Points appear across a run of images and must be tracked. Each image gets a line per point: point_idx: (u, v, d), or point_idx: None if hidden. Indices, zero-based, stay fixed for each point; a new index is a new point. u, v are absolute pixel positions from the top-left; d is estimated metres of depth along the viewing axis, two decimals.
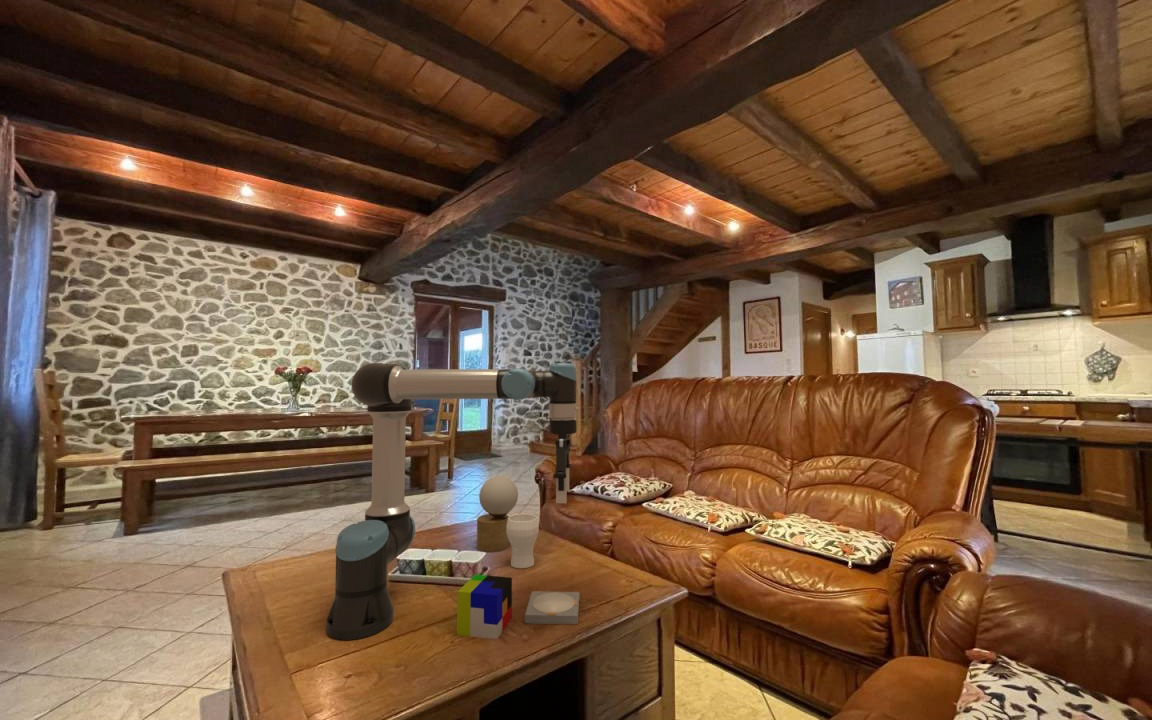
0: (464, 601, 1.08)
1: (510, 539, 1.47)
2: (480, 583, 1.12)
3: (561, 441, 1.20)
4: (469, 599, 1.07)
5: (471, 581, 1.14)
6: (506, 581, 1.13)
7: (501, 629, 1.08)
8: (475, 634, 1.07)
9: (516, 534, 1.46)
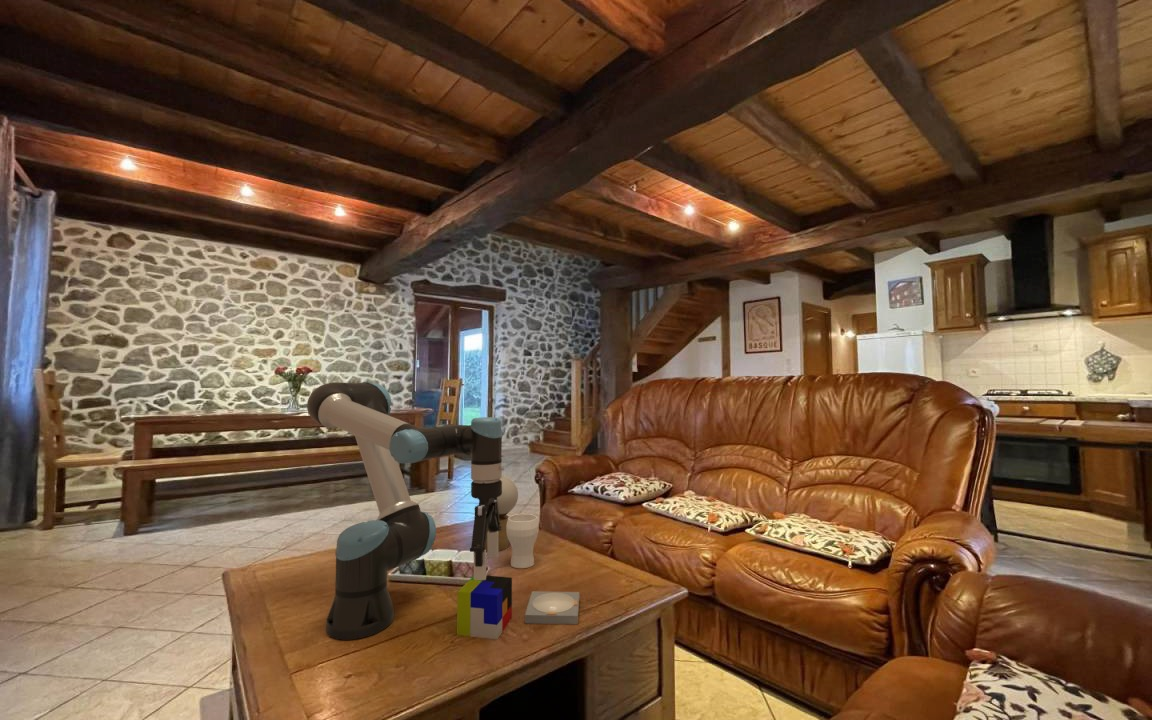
0: (464, 601, 1.08)
1: (510, 539, 1.47)
2: (480, 583, 1.12)
3: (480, 509, 1.06)
4: (469, 599, 1.07)
5: (471, 581, 1.14)
6: (506, 581, 1.13)
7: (501, 629, 1.08)
8: (475, 634, 1.07)
9: (516, 534, 1.46)
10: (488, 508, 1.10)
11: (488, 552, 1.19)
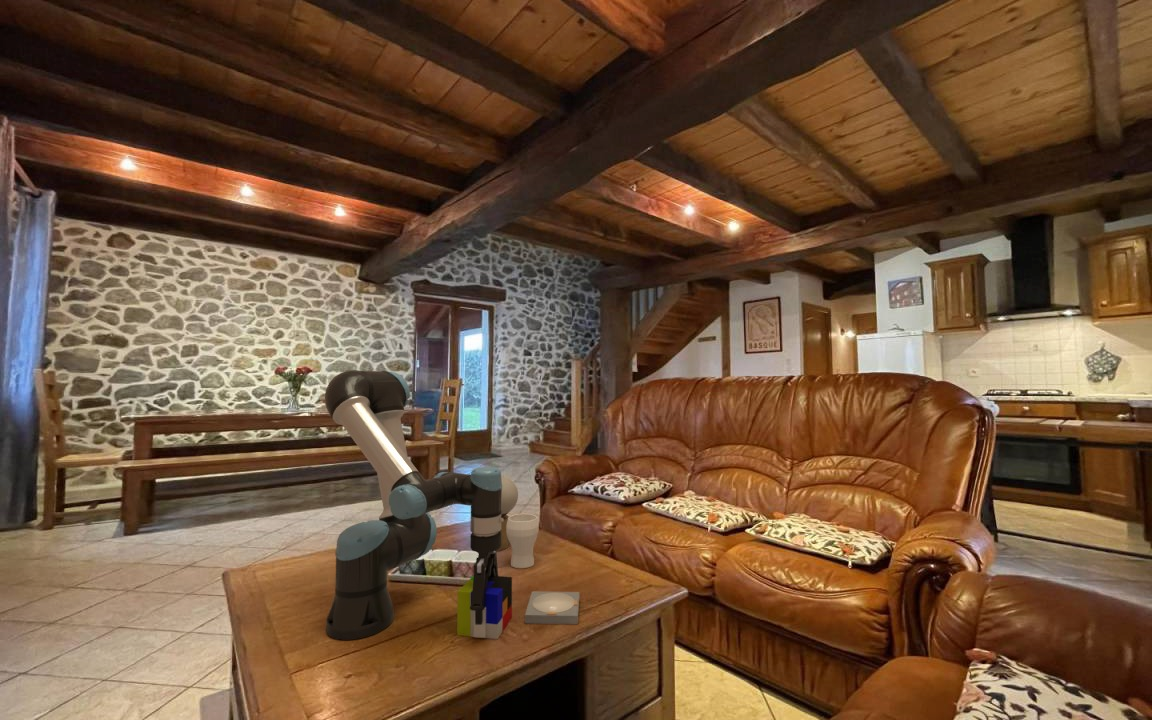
0: (464, 601, 1.07)
1: (510, 539, 1.47)
2: None
3: (479, 567, 1.05)
4: (469, 599, 1.07)
5: (471, 581, 1.14)
6: (506, 581, 1.13)
7: (501, 629, 1.08)
8: None
9: (516, 534, 1.46)
10: (487, 561, 1.09)
11: None
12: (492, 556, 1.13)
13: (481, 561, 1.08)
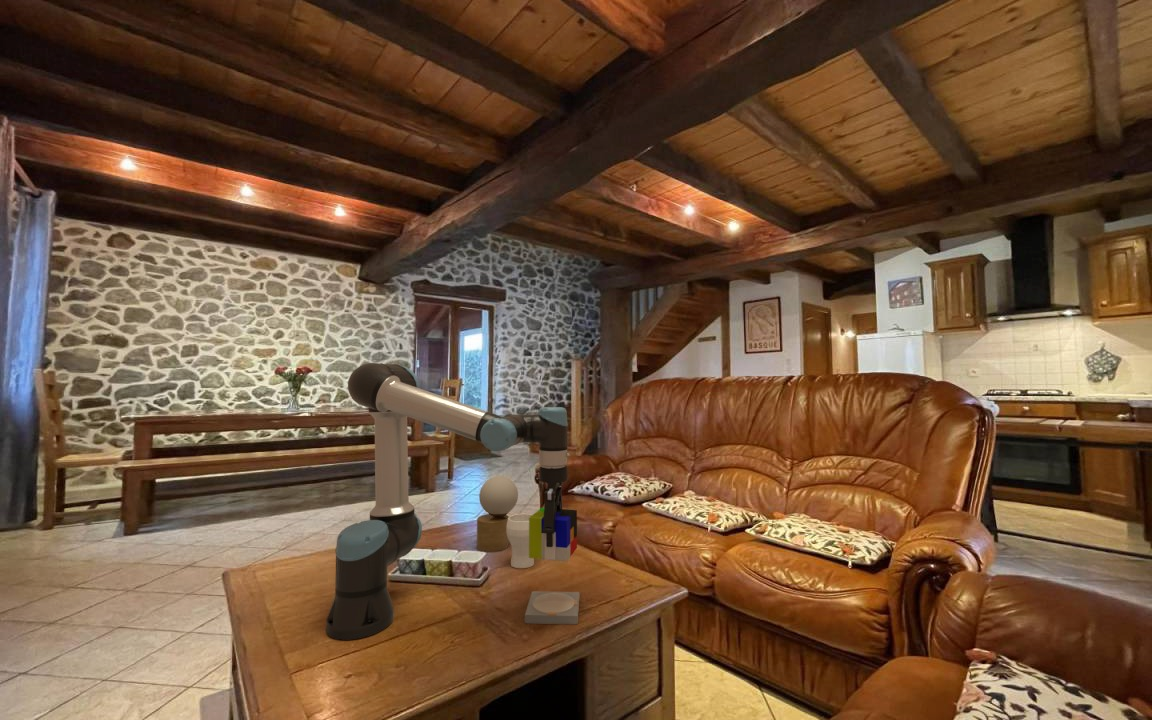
0: (535, 526, 1.16)
1: (510, 539, 1.47)
2: None
3: (549, 494, 1.14)
4: (540, 524, 1.16)
5: (539, 511, 1.22)
6: (572, 512, 1.21)
7: (569, 553, 1.16)
8: None
9: (516, 534, 1.46)
10: (556, 491, 1.18)
11: None
12: (559, 489, 1.21)
13: (550, 490, 1.16)
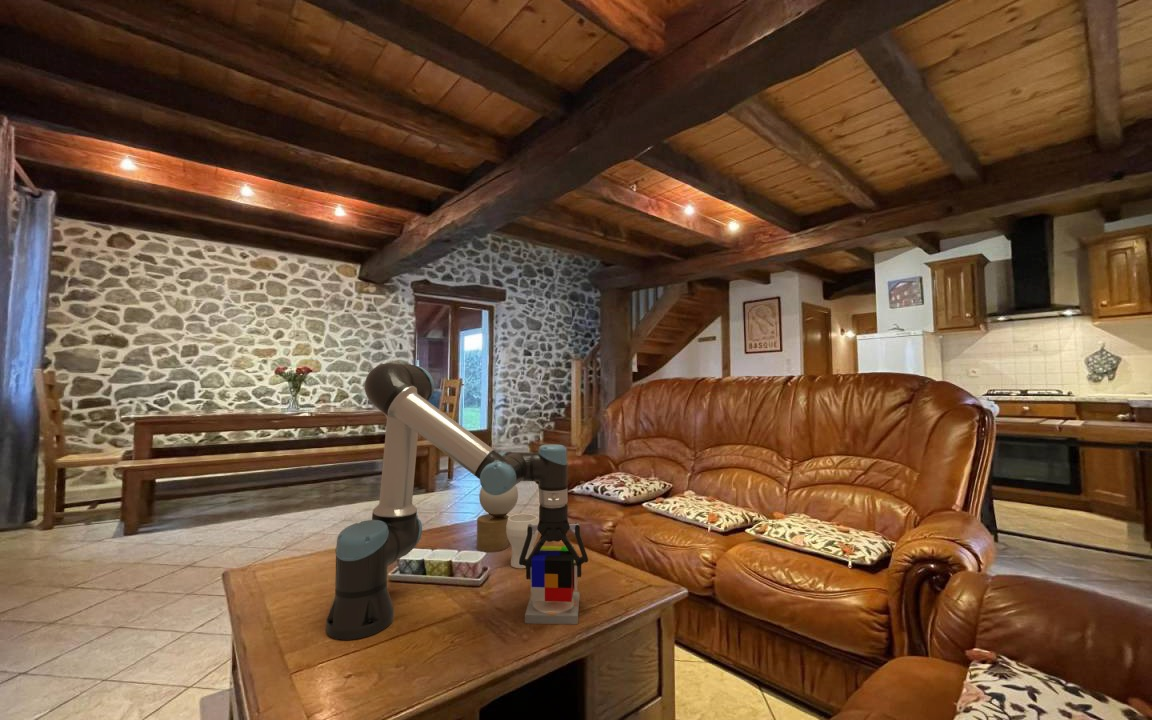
0: None
1: (510, 539, 1.47)
2: (554, 551, 1.21)
3: (527, 528, 1.19)
4: None
5: (558, 547, 1.24)
6: (561, 559, 1.15)
7: (542, 597, 1.14)
8: None
9: (516, 534, 1.46)
10: (543, 529, 1.19)
11: None
12: (556, 530, 1.19)
13: (535, 525, 1.19)
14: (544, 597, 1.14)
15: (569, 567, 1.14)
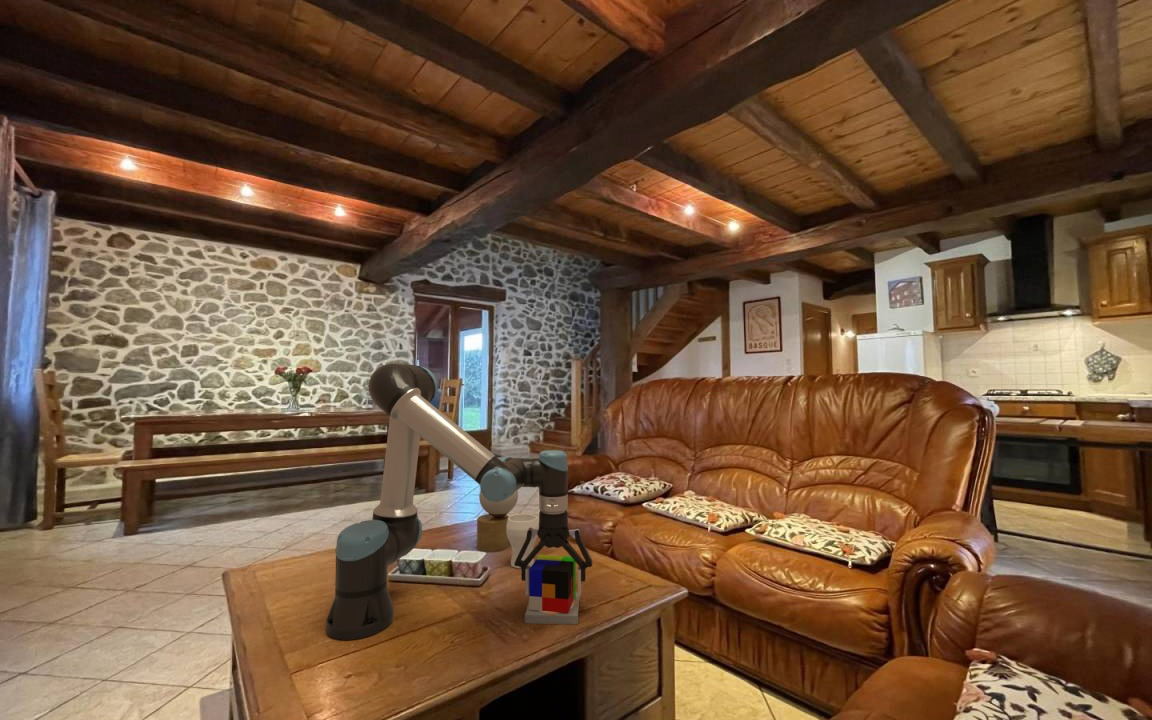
0: None
1: (510, 539, 1.47)
2: (555, 561, 1.21)
3: None
4: None
5: (560, 557, 1.23)
6: (558, 570, 1.15)
7: (540, 607, 1.14)
8: None
9: (516, 534, 1.46)
10: (542, 535, 1.19)
11: None
12: (555, 536, 1.18)
13: (535, 530, 1.20)
14: (541, 607, 1.14)
15: (566, 578, 1.14)
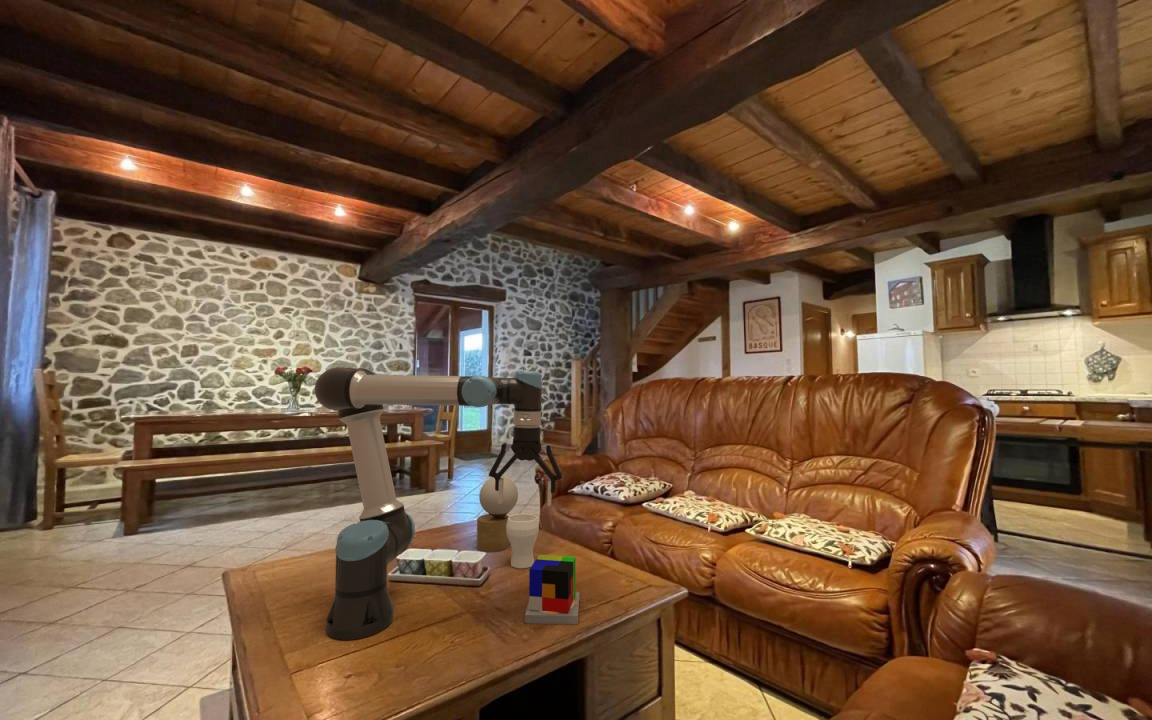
0: None
1: (510, 539, 1.47)
2: (555, 561, 1.21)
3: (502, 444, 1.27)
4: None
5: (560, 557, 1.23)
6: (558, 570, 1.15)
7: (540, 607, 1.14)
8: None
9: (516, 534, 1.46)
10: (515, 449, 1.26)
11: None
12: (528, 450, 1.25)
13: (509, 444, 1.27)
14: (541, 607, 1.14)
15: (566, 578, 1.14)
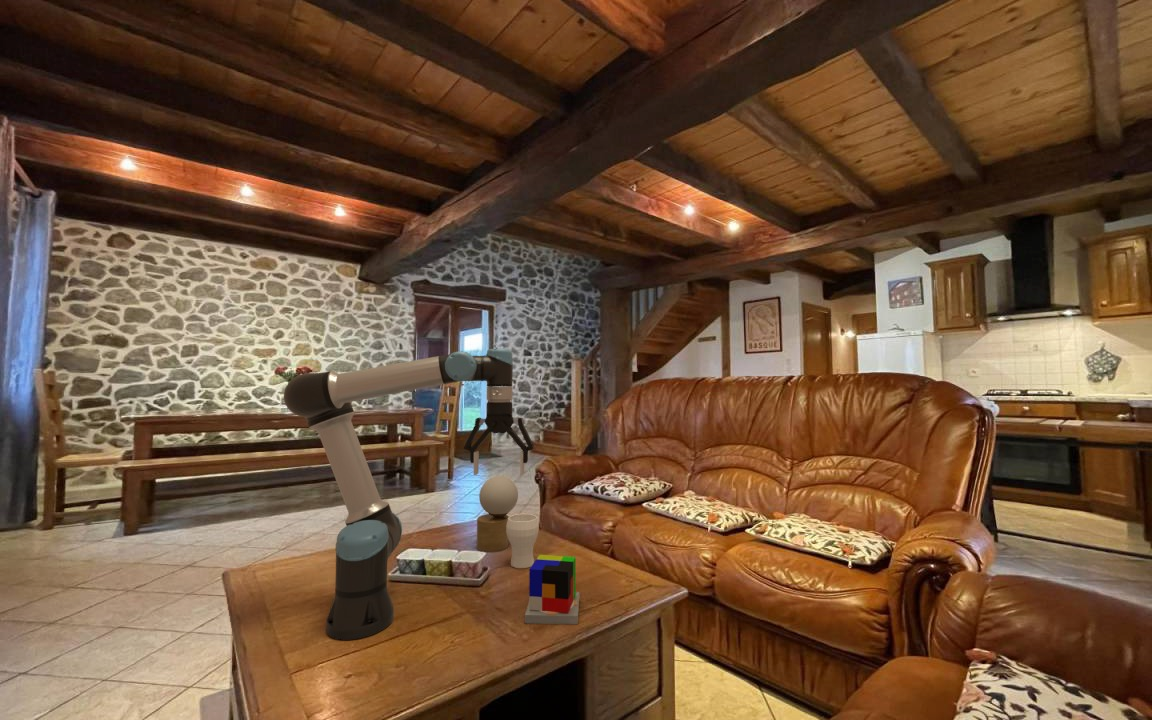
0: None
1: (510, 539, 1.47)
2: (555, 561, 1.21)
3: None
4: None
5: (560, 557, 1.23)
6: (558, 570, 1.15)
7: (540, 607, 1.14)
8: None
9: (516, 534, 1.46)
10: (489, 422, 1.33)
11: None
12: (500, 423, 1.33)
13: None
14: (541, 607, 1.14)
15: (566, 578, 1.14)
